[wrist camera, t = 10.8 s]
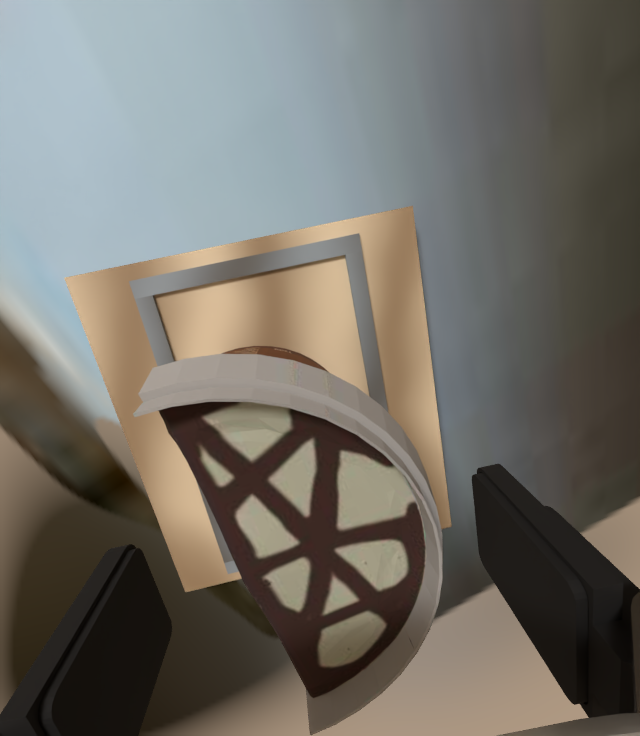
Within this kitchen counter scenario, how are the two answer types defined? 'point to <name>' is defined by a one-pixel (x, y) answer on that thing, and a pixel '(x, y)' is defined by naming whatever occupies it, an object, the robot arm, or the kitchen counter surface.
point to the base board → (264, 328)
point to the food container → (312, 512)
